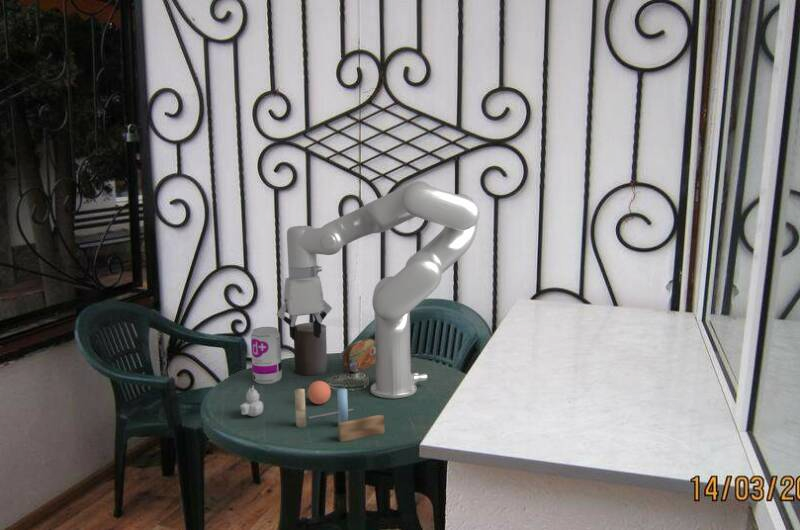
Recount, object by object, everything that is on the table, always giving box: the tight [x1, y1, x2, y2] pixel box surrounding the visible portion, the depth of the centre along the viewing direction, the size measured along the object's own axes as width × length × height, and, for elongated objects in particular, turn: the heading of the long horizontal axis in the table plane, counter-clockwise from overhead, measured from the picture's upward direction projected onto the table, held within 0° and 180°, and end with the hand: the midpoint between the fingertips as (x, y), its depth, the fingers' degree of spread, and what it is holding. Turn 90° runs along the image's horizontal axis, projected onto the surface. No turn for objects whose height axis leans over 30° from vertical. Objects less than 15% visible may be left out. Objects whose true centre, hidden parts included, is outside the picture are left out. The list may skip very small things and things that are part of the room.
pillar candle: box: [293, 322, 328, 377], centre depth 215 cm, size 10×10×15 cm
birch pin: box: [294, 388, 307, 429], centre depth 174 cm, size 2×2×9 cm
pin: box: [336, 388, 349, 424], centre depth 173 cm, size 2×2×9 cm
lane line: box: [307, 408, 355, 420], centre depth 182 cm, size 12×1×1 cm, turn 116°
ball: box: [307, 380, 332, 405], centre depth 189 cm, size 6×6×6 cm
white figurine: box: [239, 385, 264, 417], centre depth 181 cm, size 5×7×8 cm
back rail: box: [337, 413, 386, 443], centre depth 167 cm, size 11×2×4 cm, turn 116°
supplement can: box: [250, 326, 283, 385], centre depth 207 cm, size 8×8×15 cm
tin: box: [342, 338, 376, 374], centre depth 217 cm, size 15×3×8 cm, turn 147°
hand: (305, 337), depth 195 cm, fingers open, 5 cm apart
